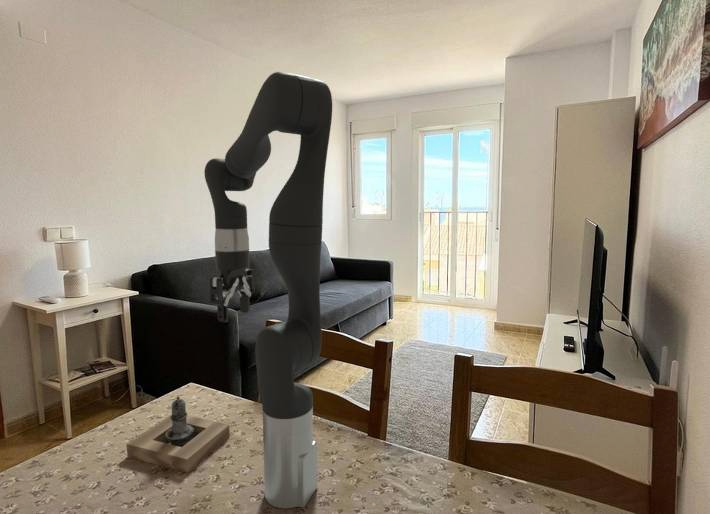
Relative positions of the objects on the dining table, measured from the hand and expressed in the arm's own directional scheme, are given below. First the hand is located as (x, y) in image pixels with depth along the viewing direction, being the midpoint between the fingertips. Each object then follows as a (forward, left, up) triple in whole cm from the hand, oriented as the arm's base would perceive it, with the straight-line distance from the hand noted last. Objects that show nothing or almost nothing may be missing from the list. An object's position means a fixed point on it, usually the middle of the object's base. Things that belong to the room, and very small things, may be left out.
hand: (234, 316), depth 97 cm
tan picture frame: (+8, +11, -28) cm, 31 cm away
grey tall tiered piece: (+8, +11, -28) cm, 31 cm away
